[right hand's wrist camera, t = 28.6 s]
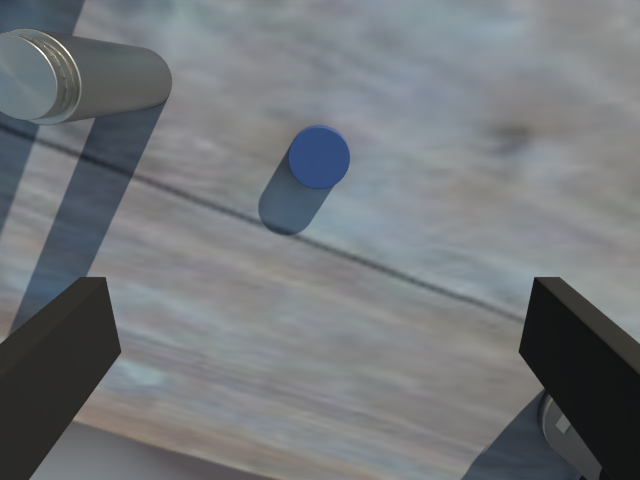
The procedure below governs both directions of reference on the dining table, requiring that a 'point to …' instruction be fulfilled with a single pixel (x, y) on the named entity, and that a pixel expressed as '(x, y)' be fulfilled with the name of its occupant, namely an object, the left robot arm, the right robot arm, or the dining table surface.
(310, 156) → the lid
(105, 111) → the jar
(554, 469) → the dining table surface
